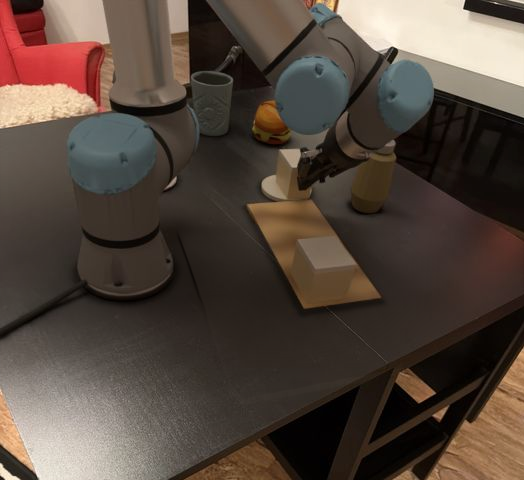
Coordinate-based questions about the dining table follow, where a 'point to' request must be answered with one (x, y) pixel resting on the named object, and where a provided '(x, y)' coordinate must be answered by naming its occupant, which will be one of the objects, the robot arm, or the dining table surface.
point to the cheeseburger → (270, 125)
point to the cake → (322, 269)
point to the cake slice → (289, 174)
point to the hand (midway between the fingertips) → (301, 183)
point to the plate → (275, 190)
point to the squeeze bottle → (373, 180)
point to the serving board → (302, 227)
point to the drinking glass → (212, 101)
